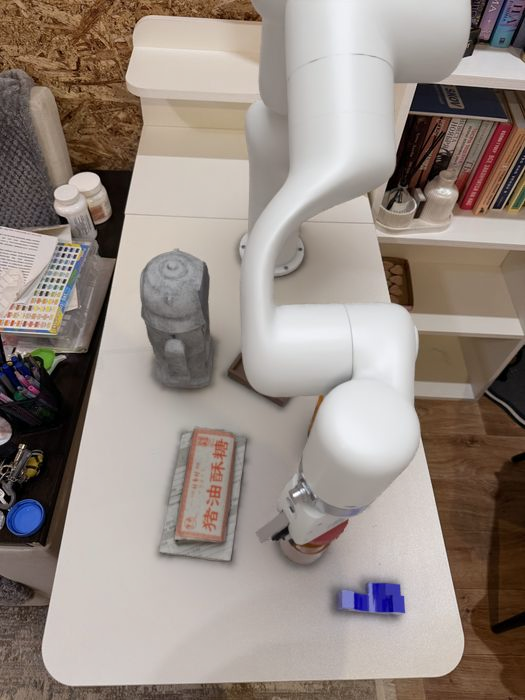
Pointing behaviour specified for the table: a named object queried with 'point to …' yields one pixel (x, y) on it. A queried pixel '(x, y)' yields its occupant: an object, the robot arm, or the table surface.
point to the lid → (330, 534)
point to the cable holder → (373, 599)
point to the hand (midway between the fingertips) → (314, 515)
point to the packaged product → (204, 495)
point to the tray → (239, 375)
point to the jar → (302, 551)
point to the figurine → (178, 318)
